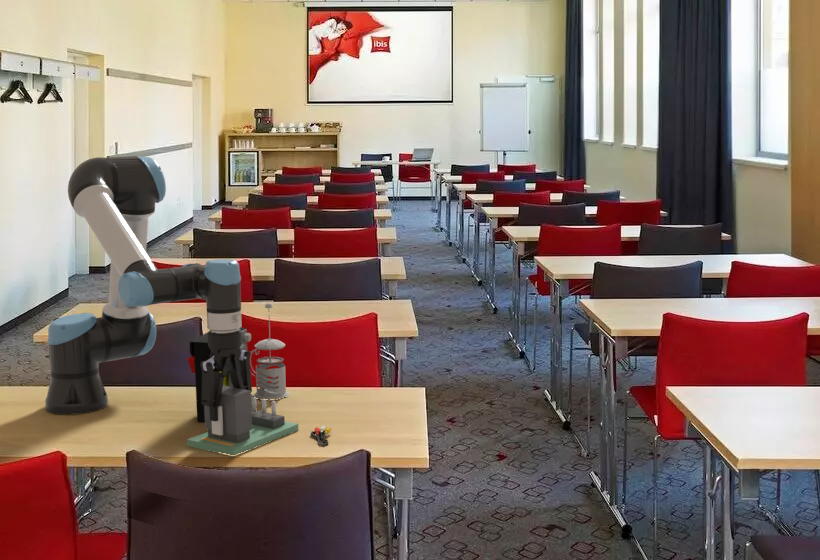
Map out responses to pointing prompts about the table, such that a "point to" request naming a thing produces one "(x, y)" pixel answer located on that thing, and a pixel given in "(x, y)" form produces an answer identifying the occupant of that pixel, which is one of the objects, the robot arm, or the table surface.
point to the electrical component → (202, 353)
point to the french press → (270, 370)
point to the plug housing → (233, 411)
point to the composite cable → (321, 435)
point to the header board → (245, 445)
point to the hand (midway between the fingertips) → (228, 429)
